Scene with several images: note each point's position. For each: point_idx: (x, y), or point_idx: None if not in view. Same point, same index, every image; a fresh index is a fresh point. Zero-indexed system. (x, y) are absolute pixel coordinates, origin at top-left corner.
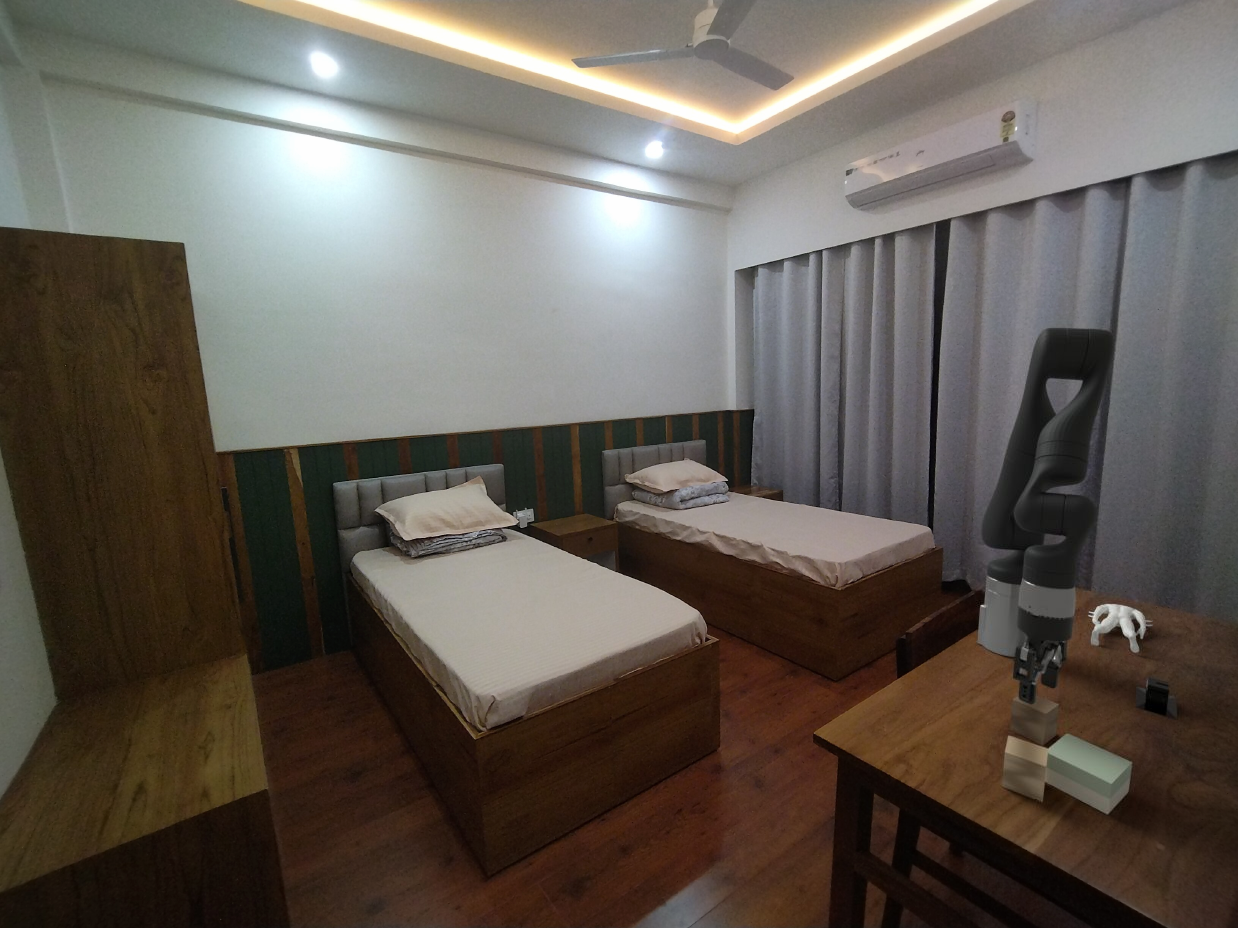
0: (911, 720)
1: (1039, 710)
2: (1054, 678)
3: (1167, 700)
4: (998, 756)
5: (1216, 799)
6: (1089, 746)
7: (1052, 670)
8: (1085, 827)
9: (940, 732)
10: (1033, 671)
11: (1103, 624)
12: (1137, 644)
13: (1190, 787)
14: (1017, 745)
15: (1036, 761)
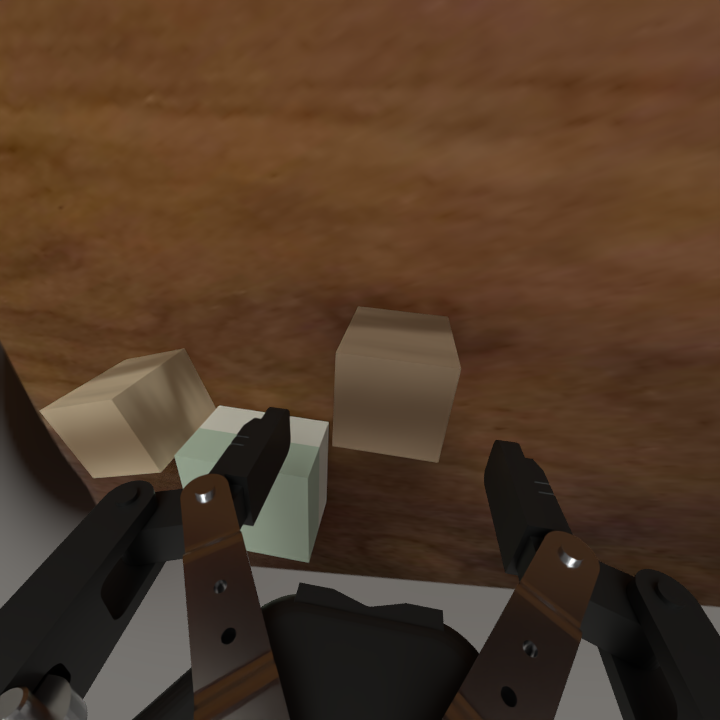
0: (105, 39)
1: (337, 429)
2: (494, 517)
3: None
4: (209, 324)
5: (421, 573)
6: (293, 512)
7: (509, 546)
8: (170, 466)
9: (151, 165)
10: (125, 622)
11: None
12: None
13: (428, 555)
14: (97, 423)
15: (86, 463)
